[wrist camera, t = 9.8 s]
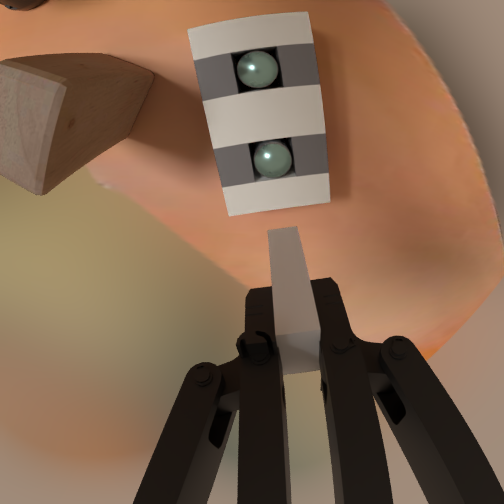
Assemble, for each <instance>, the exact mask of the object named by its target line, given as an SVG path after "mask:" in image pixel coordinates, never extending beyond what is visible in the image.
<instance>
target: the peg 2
mask: <svg viewBox="0 0 504 504" xmlns="http://www.w3.org/2000/svg"><path fill="white" fill-rule="evenodd" d="M291 163H292V158H291V154H290V152H289V150H288V147H287V145H286V143H285V141H284V139H283V138H278V139H271V140H264V141H257V142H254V165H255V168H256V169H257V171H258V172H259V173H260V174H261V175H263V176H265V177H268V178H278V177H281V176H283V175H284V174H286V173H287V172H288V170H289V169H290V167H291Z"/></svg>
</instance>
